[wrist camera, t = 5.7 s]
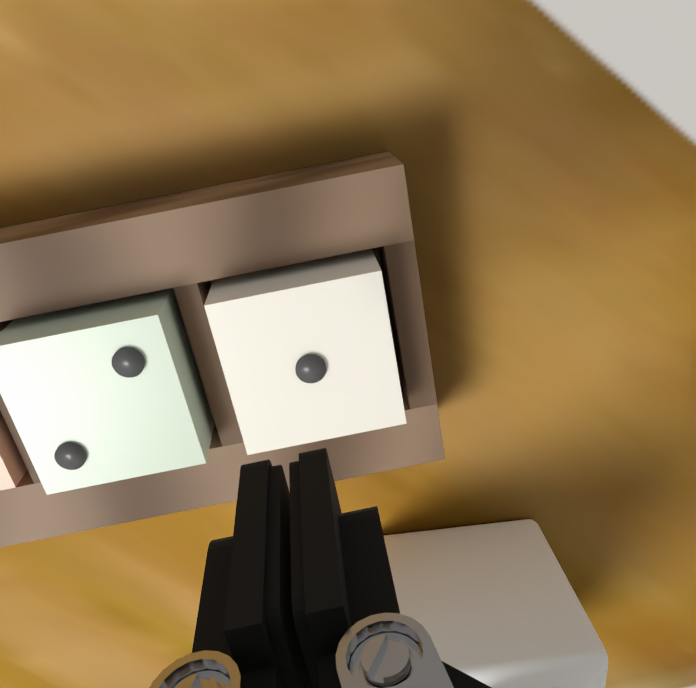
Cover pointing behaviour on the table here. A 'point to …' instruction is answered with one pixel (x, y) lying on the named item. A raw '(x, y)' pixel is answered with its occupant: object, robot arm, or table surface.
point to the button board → (191, 293)
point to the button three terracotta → (9, 459)
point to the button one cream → (307, 351)
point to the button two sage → (105, 391)
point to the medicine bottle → (497, 605)
